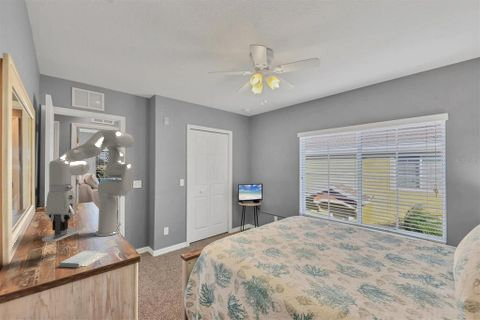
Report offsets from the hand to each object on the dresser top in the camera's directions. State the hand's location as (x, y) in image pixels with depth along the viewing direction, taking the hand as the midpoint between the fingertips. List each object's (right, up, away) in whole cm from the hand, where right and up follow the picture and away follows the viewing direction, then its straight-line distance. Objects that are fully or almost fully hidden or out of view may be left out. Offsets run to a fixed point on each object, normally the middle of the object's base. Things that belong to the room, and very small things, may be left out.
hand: (60, 229), depth 96 cm
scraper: (+1, -3, 0) cm, 3 cm away
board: (+13, -12, -2) cm, 18 cm away
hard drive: (+12, -12, -4) cm, 18 cm away
